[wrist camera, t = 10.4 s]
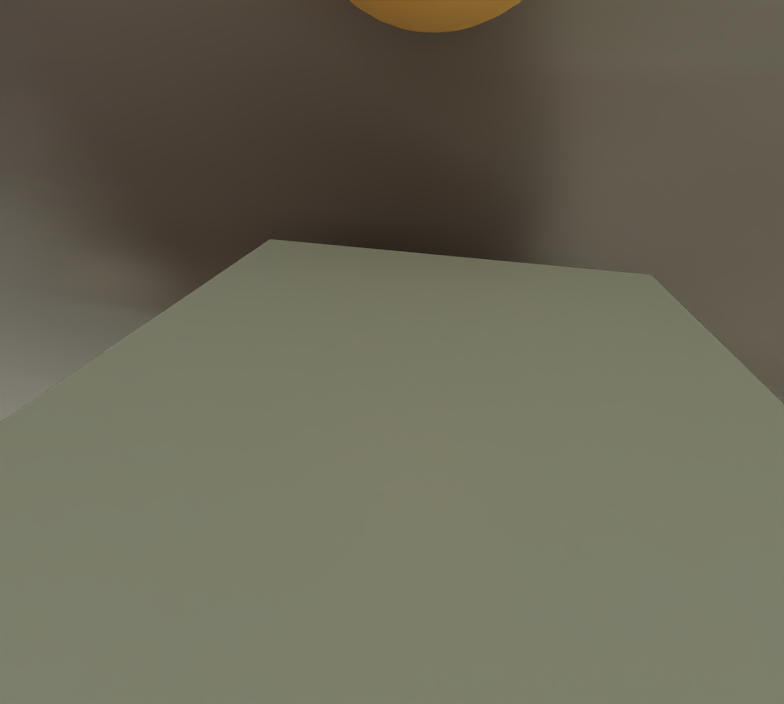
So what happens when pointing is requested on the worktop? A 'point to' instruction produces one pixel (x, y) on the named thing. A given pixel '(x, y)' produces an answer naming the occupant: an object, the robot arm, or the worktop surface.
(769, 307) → the worktop surface
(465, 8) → the ball
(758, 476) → the pale green cube
